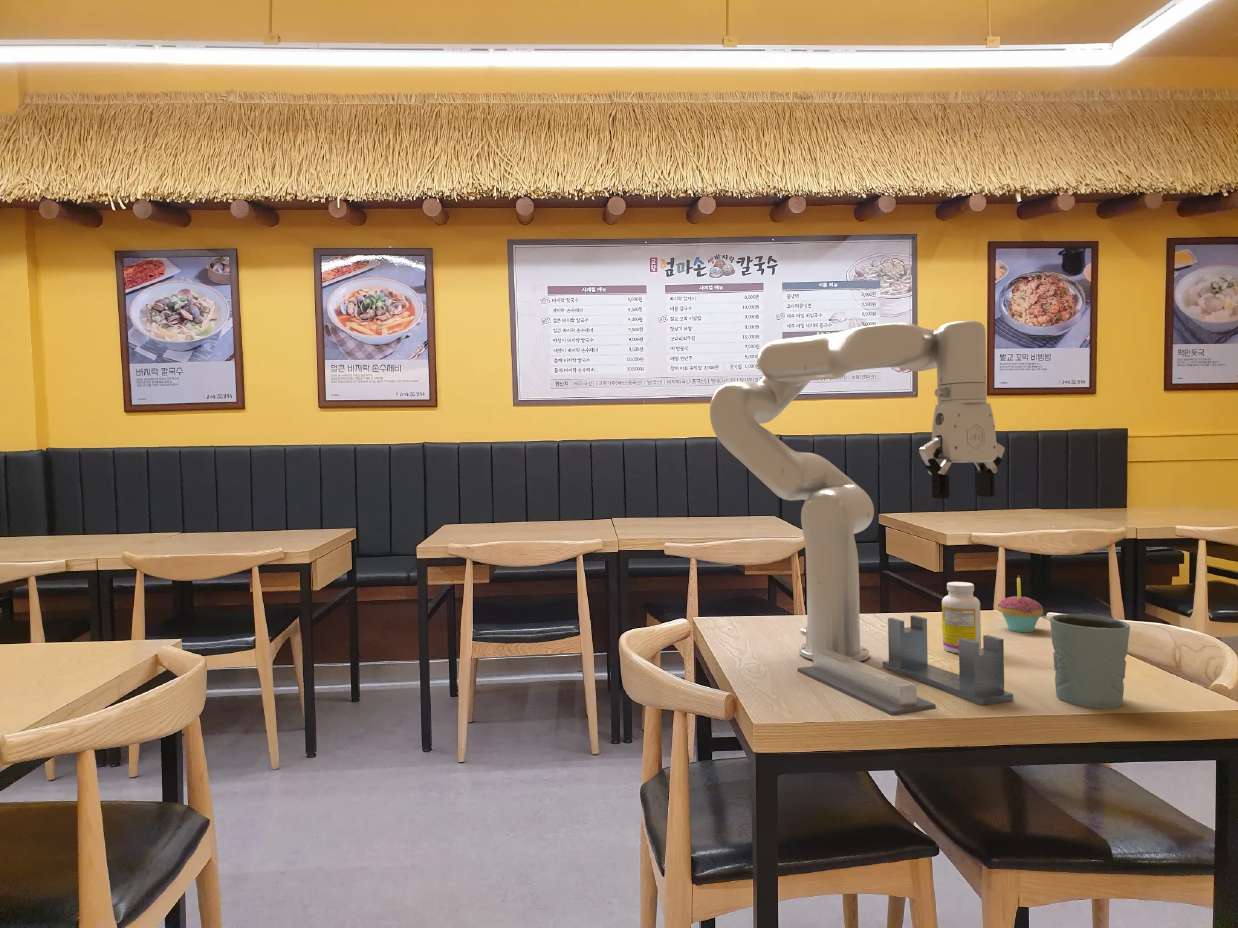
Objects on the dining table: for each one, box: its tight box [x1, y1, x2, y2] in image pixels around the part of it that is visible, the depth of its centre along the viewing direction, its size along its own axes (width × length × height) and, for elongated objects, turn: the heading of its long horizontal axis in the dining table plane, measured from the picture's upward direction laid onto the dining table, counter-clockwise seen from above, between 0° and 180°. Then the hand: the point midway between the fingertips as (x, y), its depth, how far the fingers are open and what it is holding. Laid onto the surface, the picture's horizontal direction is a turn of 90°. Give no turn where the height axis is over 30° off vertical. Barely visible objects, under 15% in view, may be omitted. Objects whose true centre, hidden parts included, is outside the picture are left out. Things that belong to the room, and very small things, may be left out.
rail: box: [812, 649, 918, 707], centre depth 118 cm, size 22×3×3 cm, turn 20°
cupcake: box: [997, 574, 1044, 633], centre depth 155 cm, size 9×8×12 cm
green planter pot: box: [1049, 613, 1131, 709], centre depth 111 cm, size 10×10×12 cm
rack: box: [882, 614, 1014, 706], centre depth 120 cm, size 22×6×9 cm, turn 20°
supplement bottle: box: [941, 581, 982, 655], centre depth 139 cm, size 7×7×13 cm
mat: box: [796, 665, 937, 716], centre depth 118 cm, size 24×8×1 cm, turn 20°
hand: (963, 497), depth 123 cm, fingers open, 9 cm apart
